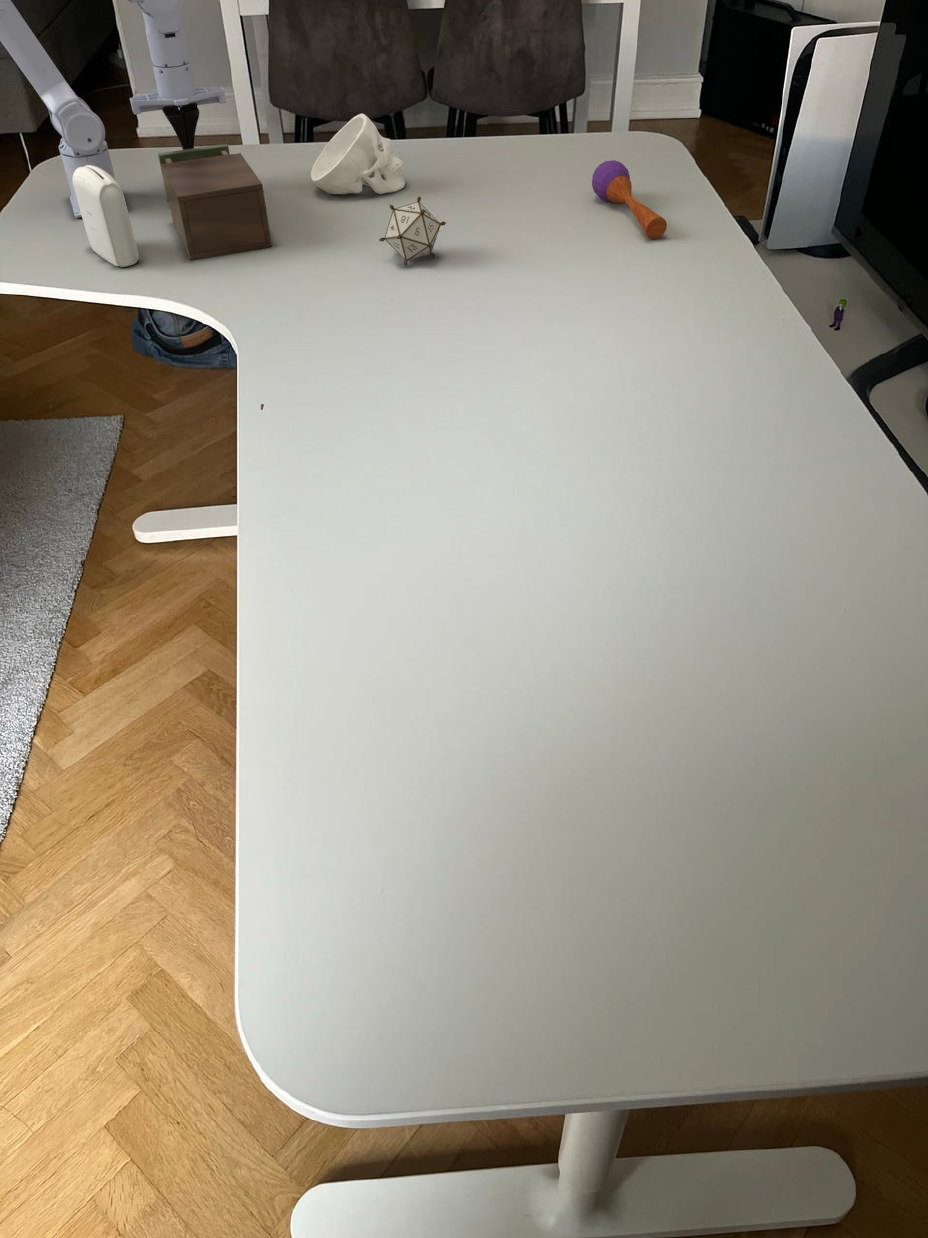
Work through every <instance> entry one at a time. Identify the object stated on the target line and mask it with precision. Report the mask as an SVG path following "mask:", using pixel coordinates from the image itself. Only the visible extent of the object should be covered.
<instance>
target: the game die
mask: <svg viewBox="0 0 928 1238" xmlns="http://www.w3.org/2000/svg"><path fill="white" fill-rule="evenodd" d="M416 200H417V201H416V202H412V203H409V204H405V205H402V206H399V207H395V206H394V205H393V204H390V203H389V209H390V210H391V213H390V214H391V215H390V218H389V221H388V224H387V228H386V231H385V235H384V237H383V236H382V237H380V238H379V239H378V241H379V242H381V243H382V242H384V241H385V242H386V243H387V244H388V245H389V246H390V247H391V248H392V249H393V250H394V251H396V253H397V254H398V255H399V256H400V257H401V258H402V259H403V260H404V263H403V265H404V267H405V268H406V267H407V266H408V265H409V262H410V261H411V260H414V259H415V260H416V259H418V258H420V257H424V256H428V255H430V257H432V258H435V253H434V252H433V250H434V246H435V243H436V240H437V237H438V234H439V231H440V229H441V226H445V225H446V224H447V221H445V220H444V221H441V222H440V221H439V220H438V219H437V218H436V217H435V215H433V214H432V213H431V212H430V211H429V210H428V209H427V208H426V207H425V206H424V205H423V204H422V203H421V201H422V197H421V195H419V196H418V197H417V198H416ZM408 261H409V262H408Z"/></svg>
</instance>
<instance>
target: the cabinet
mask: <svg viewBox="0 0 928 1238" xmlns="http://www.w3.org/2000/svg"><path fill="white" fill-rule="evenodd" d="M161 167H162V171H161V173H162V172H163V176H162V178H163V177H164V181H165V185H164V187H165V186H166V190H165V192H166V191H167V195H168V199H167V201H168V200H169V202H168V204H169V205H168V206H169V208H170V213H171V214H170V215H171V219H172V223H173V227H174V228H175V231H176V233H177V235H178V237H179V239H180V241H181V243H182V245H183V247H184V250H185V252H186V254H187V256H188V258H189V260H190V261H194V260H200V259H206V258H212V257H218V256H219V257H220V256H224V255H229V254H236V253H242V252H249V251H254V250H261V249H265V248H271V247H272V245H273V244H272V238H271V232H270V225H269V219H268V213H267V205H266V199H265V198H266V197H265V192H264V186H263V183H262V181H261V180H260V179H259V177H258V176H257V174H256V172H255V171H254V170H253V168H252V167H251V166H250V164H249V163H248V162H247V160H246V158H245V157H244V156H243V155H242V153H241V152H238V153H230V155H223V156H216V157H209V158H201V159H194V160H187V161H180V162H173V163H166V164H161V166H160V168H161ZM164 181H163V182H164ZM167 195H166V196H167Z"/></svg>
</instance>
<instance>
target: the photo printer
mask: <svg viewBox="0 0 928 1238" xmlns="http://www.w3.org/2000/svg"><path fill="white" fill-rule="evenodd" d="M72 181H73V186H74V190H75V193H76V197H77V201H78V204H79V208H80V211H81V215H82V217H81V218H82V222H83V225H84V229H85V232H86V235H87V239H88V243H89V246H90V247H91V249H92V251H93V252H95V253H96V254H97V255H98V256H100V257H101V258H103V259H104V260H106V261H107V262H109V263H110V264H112V265H114V266H115V267H121V268H123V267H124V268H126V267H129V266H132V265H135V264H137V263H138V261H139V260H140V254H139V250H138V246H137V243H136V239H135V234H134V230H133V226H132V222H131V219H130V215H129V211H128V206H127V203H126V199H125V194H124V191H123V189H122V187H121V186H120V184H119V183H118V182H117V180H116V181H115V180H114V179H113V178H112V177H111V176H110V175H109V174H108V173H107V172H105V171H104V170H102V169H100V168H98V167H96V166H92V165H86V166H84V167H79V168H77V169H76V170H75V172H74V174H73V178H72Z"/></svg>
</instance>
